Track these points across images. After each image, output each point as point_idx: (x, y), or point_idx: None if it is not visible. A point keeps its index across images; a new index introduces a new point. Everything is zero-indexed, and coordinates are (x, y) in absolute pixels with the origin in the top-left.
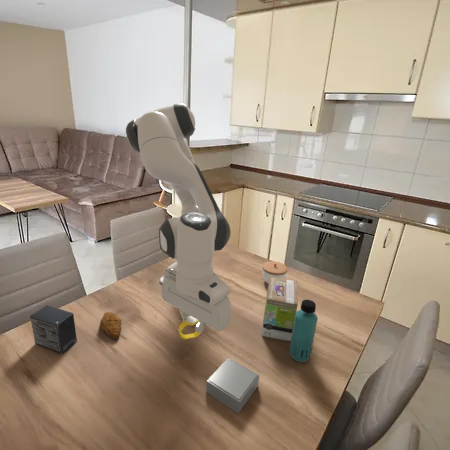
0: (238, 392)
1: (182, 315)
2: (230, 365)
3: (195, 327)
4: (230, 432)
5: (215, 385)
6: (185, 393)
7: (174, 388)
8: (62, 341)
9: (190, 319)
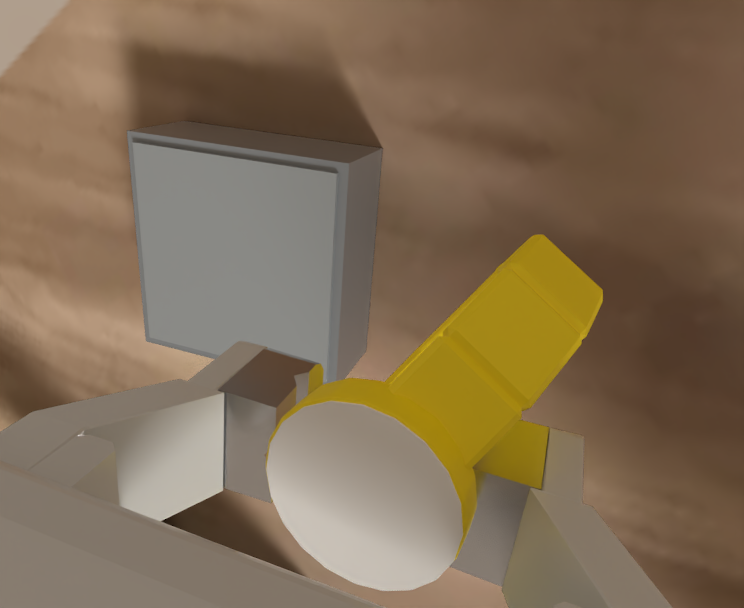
0: (157, 182)
1: (589, 554)
2: (291, 338)
3: (281, 386)
4: (159, 3)
5: (286, 161)
6: (489, 70)
7: (580, 60)
8: None
9: (376, 496)
